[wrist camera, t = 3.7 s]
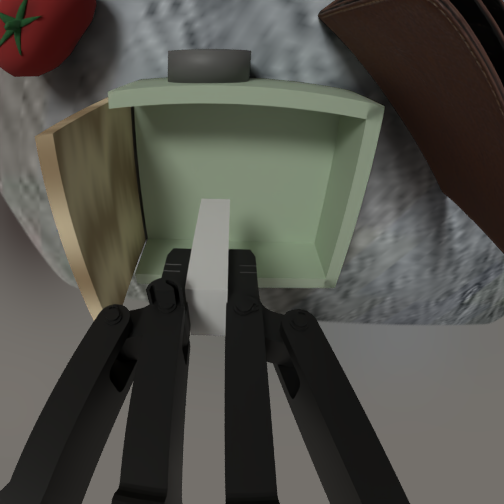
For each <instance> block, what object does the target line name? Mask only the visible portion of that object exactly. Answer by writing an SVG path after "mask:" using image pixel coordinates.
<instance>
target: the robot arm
mask: <svg viewBox="0 0 504 504" xmlns="http://www.w3.org/2000/svg"><path fill="white" fill-rule="evenodd" d="M229 217H230V199H201V204H200V209H199V214H198V219H197V224H196V229H195V234H194V239H193V245H192V249H186V248H173V249H172V250H171V252H170V253H169V254H168V255H167V258H166V262H165V265H164V269H163V273H162V277H161V278H159V279H156V280H154V281H152V282H151V283H150V284H149V285H148V287H147V289H146V291H147V295H148V299H149V303H150V305H148V306H146V307H144V308H141V309H136V310H131V311H129V310H128V309H127V308H126V307H125V306H123V305H119V304H113V305H109V306H107V307H105V308H103V310H102V311H101V312H100V313H99V314H98V316H97V317H96V319H95V320H94V322H93V324H92V325H91V327H90V328H89V330H88V331H87V333H86V335H85V336H84V338H83V339H82V341H81V343H80V344H79V346H78V348H77V349H76V351H75V353H74V354H73V356H72V358H71V359H70V361H69V363H68V365H67V366H66V368H65V370H64V371H63V373H62V375H61V377H60V378H59V380H58V382H57V384H56V386H55V387H54V389H53V391H52V393H51V395H50V397H49V399H48V401H47V402H46V404H45V406H44V408H43V410H42V412H41V414H40V416H39V418H38V420H37V422H36V424H35V426H34V428H33V430H32V432H31V434H30V436H29V438H28V441H27V443H26V445H25V447H24V449H23V452H22V454H21V456H20V459H19V461H18V463H17V465H16V468H15V470H14V473H13V475H12V478H11V480H10V482H9V483H8V484H7V485H6V486H5V487H4V488H3V489H2V490H1V491H0V504H82V501H83V499H84V496H85V493H86V491H87V488H88V486H89V483H90V481H91V478H92V475H93V473H94V470H95V468H96V465H97V463H98V461H99V458H100V456H101V453H102V451H103V448H104V446H105V444H106V441H107V439H108V437H109V434H110V432H111V429H112V427H113V425H114V423H115V420H116V418H117V416H118V414H119V411H120V409H121V407H122V405H123V402H124V400H125V398H126V396H127V394H128V391H129V389H130V387H131V385H132V383H133V387H132V393H131V399H130V405H129V412H128V418H127V425H126V432H125V440H124V448H123V457H122V466H121V476H120V485H119V488H118V490H117V491H116V492H115V494H114V496H113V498H112V504H182V465H183V440H184V422H185V406H186V391H187V378H188V366H189V354H190V341H189V336H190V332H191V335H213V336H225V489H226V490H225V491H226V504H280V503H279V500H278V496H277V485H276V472H275V460H274V446H273V435H272V421H271V409H270V397H269V385H268V373H267V362H270V363H273V364H274V367H275V370H276V372H277V375H278V377H279V380H280V382H281V385H282V388H283V390H284V393H285V395H286V397H287V400H288V403H289V405H290V408H291V410H292V413H293V415H294V417H295V420H296V423H297V425H298V427H299V430H300V432H301V435H302V437H303V440H304V442H305V445H306V447H307V449H308V451H309V454H310V457H311V459H312V461H313V464H314V466H315V469H316V471H317V474H318V476H319V478H320V481H321V483H322V485H323V488H324V490H325V493H326V495H327V497H328V500H329V502H330V504H410V503H409V501H408V499H407V497H406V495H405V492H404V490H403V488H402V486H401V484H400V482H399V480H398V478H397V476H396V474H395V472H394V470H393V468H392V466H391V464H390V461H389V459H388V457H387V456H386V454H385V451H384V449H383V447H382V445H381V443H380V441H379V439H378V437H377V435H376V433H375V431H374V429H373V427H372V425H371V423H370V421H369V419H368V417H367V416H366V414H365V411H364V410H363V408H362V406H361V404H360V402H359V400H358V398H357V396H356V394H355V392H354V390H353V388H352V386H351V384H350V383H349V380H348V379H347V377H346V375H345V373H344V371H343V369H342V367H341V365H340V364H339V361H338V360H337V358H336V356H335V354H334V352H333V350H332V348H331V346H330V344H329V343H328V341H327V339H326V337H325V335H324V333H323V331H322V329H321V328H320V326H319V324H318V322H317V320H316V319H315V317H314V316H313V315H312V314H310V313H309V312H307V311H304V310H300V309H297V310H291V311H288V312H287V313H286V314H285V315H282V314H279V313H275V312H272V311H270V310H268V309H267V308H265V307H264V306H263V305H262V303H261V302H260V299H259V291H258V279H257V267H256V257H255V255H254V254H253V252H252V251H251V250H250V249H229ZM133 381H134V382H133Z"/></svg>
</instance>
